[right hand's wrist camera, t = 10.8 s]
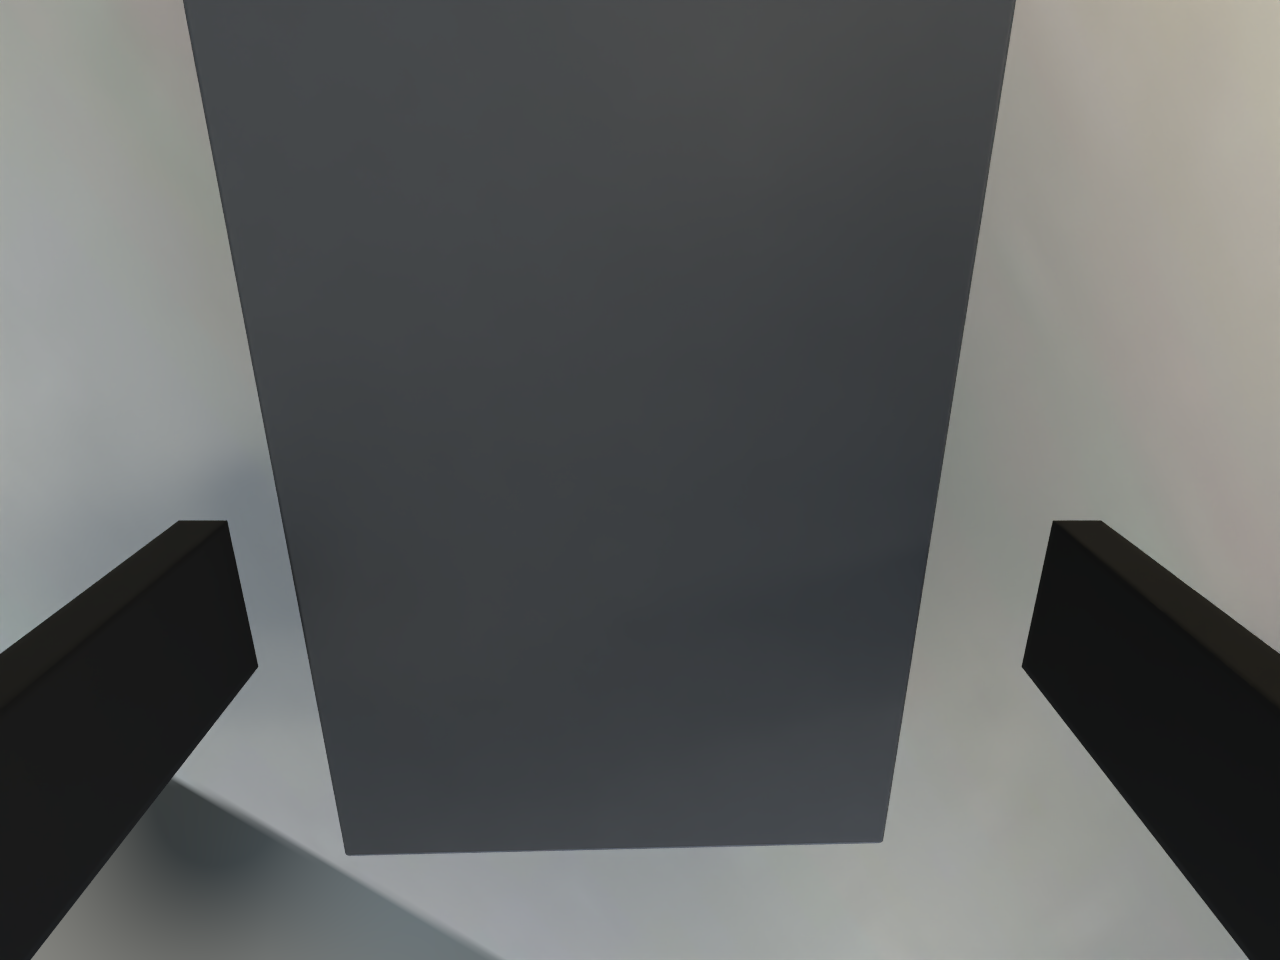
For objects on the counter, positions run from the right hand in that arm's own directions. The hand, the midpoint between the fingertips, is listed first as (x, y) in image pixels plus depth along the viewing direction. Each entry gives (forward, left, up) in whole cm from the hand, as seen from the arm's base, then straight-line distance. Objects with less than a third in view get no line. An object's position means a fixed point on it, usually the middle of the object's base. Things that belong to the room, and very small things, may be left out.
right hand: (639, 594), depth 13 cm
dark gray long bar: (+4, -35, -7) cm, 36 cm away
